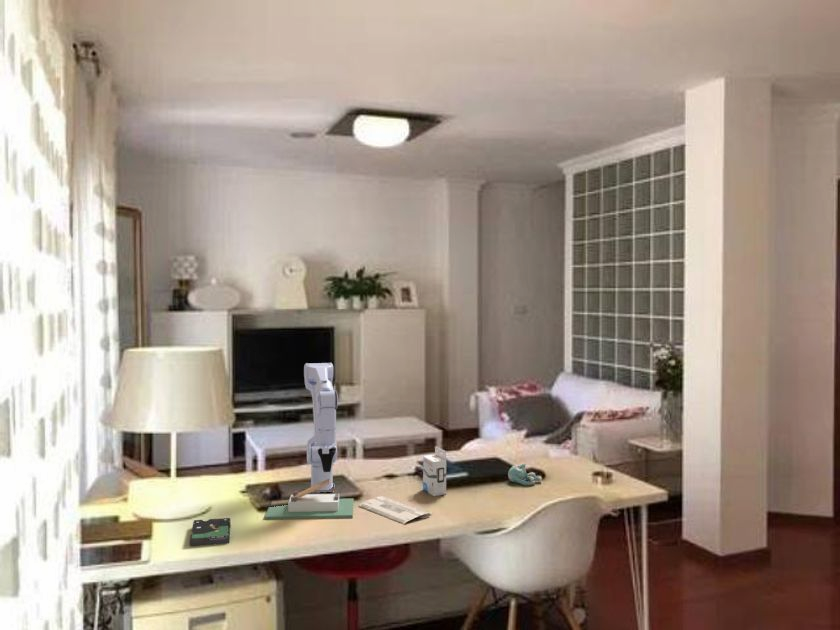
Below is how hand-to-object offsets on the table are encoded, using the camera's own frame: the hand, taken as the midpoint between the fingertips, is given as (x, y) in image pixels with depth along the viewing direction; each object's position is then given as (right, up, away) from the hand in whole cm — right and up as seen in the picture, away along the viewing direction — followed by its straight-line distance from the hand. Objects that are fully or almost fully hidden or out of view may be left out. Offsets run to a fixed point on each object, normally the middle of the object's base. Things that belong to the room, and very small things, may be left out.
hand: (327, 471), depth 218 cm
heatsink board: (-4, -11, -5) cm, 13 cm away
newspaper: (+22, -12, -5) cm, 25 cm away
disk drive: (-29, -12, -27) cm, 41 cm away
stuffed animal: (+67, -10, +26) cm, 72 cm away
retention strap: (-4, -4, -6) cm, 8 cm away
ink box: (+34, -10, +14) cm, 38 cm away
